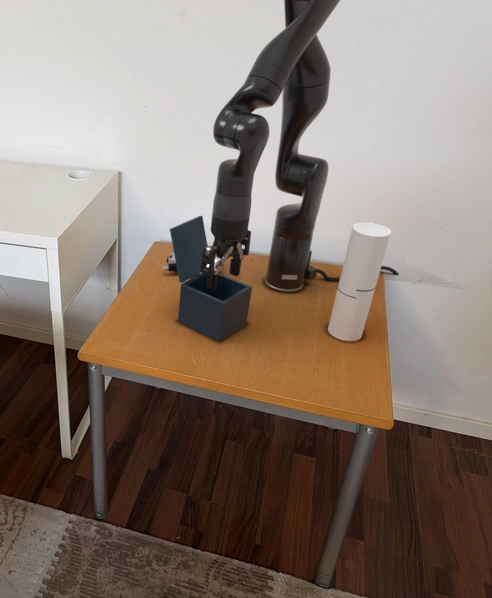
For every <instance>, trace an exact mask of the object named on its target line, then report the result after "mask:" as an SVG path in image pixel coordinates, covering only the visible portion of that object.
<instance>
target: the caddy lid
mask: <svg viewBox="0 0 492 598" xmlns="http://www.w3.org/2000/svg"><path fill="white" fill-rule="evenodd" d="M169 233H170V239H171V243H172V248H173V252H174V255H175V260H176V265H177V271H176V272H177V275H178V280H179V283H180V284H183V283H185V282H187V281H189V280H190V279H192V278H194V277H196V275H198V274H200V273H201V271H200V269H201V261H202V254H203V248H204V246H205V245H207V246H208V240H207V235H206V229H205V224H204V217H203V215H198V216H196V217H193V218H192V219H189V220H187V221H185V222H182V223H180V224H178V225H175V226H173V227H170V228H169ZM207 265H208V264H207V263H206V267H207Z"/></svg>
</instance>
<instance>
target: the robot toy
mask: <svg viewBox="0 0 492 598" xmlns="http://www.w3.org/2000/svg"><path fill="white" fill-rule="evenodd" d="M215 259H217V260H221V259H220V258H218V257H217V256H215ZM166 263H167V264H168V265H165V264H164V265H162V270H163V271H169V272H178V271H177V265H176V260H175V255H174V251H172V252H171V254H169V256H167V258H166ZM216 265H217V264H216V263H214V269H215V267H216ZM222 270H223V266H221V268H220V270H219V272H218V273H220V272H221V271H222ZM202 273H203V272H201V273H200V274H202ZM200 274H198V275H200ZM198 275H196V276H198ZM196 276H195V277H196Z"/></svg>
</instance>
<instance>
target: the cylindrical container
mask: <svg viewBox="0 0 492 598" xmlns="http://www.w3.org/2000/svg"><path fill="white" fill-rule="evenodd" d="M391 234H392V231H391V228H389V227H387V226H385V225H382V224H380V223H376V222H369V221H368V222H367V221H365V222H364V221H363V222H362V221H361V222H356V223H354V224H353V225H352V228H351V231H350V236H349V241H348V244H347V248H346V251H345V252H346V253H345V257H344V261H343V265H342V269H341V273H340V276H339V277H340V281H338V284H337V285H338V286H337V290H336V294H335V298H334V301H333V306H332V309H331V314H330V318H329V323H328V326H327V332H328V333H329V334H330V335H331V336H332V337H333V338H336V339H338V340H341V341H345V342H356V341H359V340H360V339H361V338H362V336H363V333H364V330H365V326H366V322H367V319H368V316H369V312H370V308H371V304H372V302H373V298H374V295H375V291H376V287H377V285H378V284H377V283H378V280H379V276H380V273H381V270H382V269H381V266H383V262H384V259H385V255H386V253H387V252H386V251H387V248H388V244H389V242H390V237H391Z"/></svg>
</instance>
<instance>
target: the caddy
mask: <svg viewBox="0 0 492 598" xmlns="http://www.w3.org/2000/svg"><path fill="white" fill-rule="evenodd" d="M206 278H207V274H206V273H202V274H200V275H198V276H194V277H192V278H190V279H188V280H186V281H185V282H183V283H180V289H179V291H180V293H179V303H178V316H177V322H178V323H180V324H182V325H184V326H186V327H188V328H190V329H192V330H194V331H195V332H198V333H200V334H202V335H204V336H205V337H208V338H209V339H212V340H214V341H216V342H218V343H220V342H222V341H223V340H224V339H227V337H229V336H230V335H232V334H234V332H237V331H238V330H240V329H241V328H242V327H244V326H245V325H247V324H248V323H247V322H248V317H249V311H250V303H251V297H252V292H253V291H252V290H253V286H252V285H250V284H247V283H245V282H243V281H240V280H237V279H234V278H232V277H230V276H228V275H225V274H222V273H220V272H219V273H218V278H217V287H216V289H214V290H212V289H210V288H207V286H206Z"/></svg>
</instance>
